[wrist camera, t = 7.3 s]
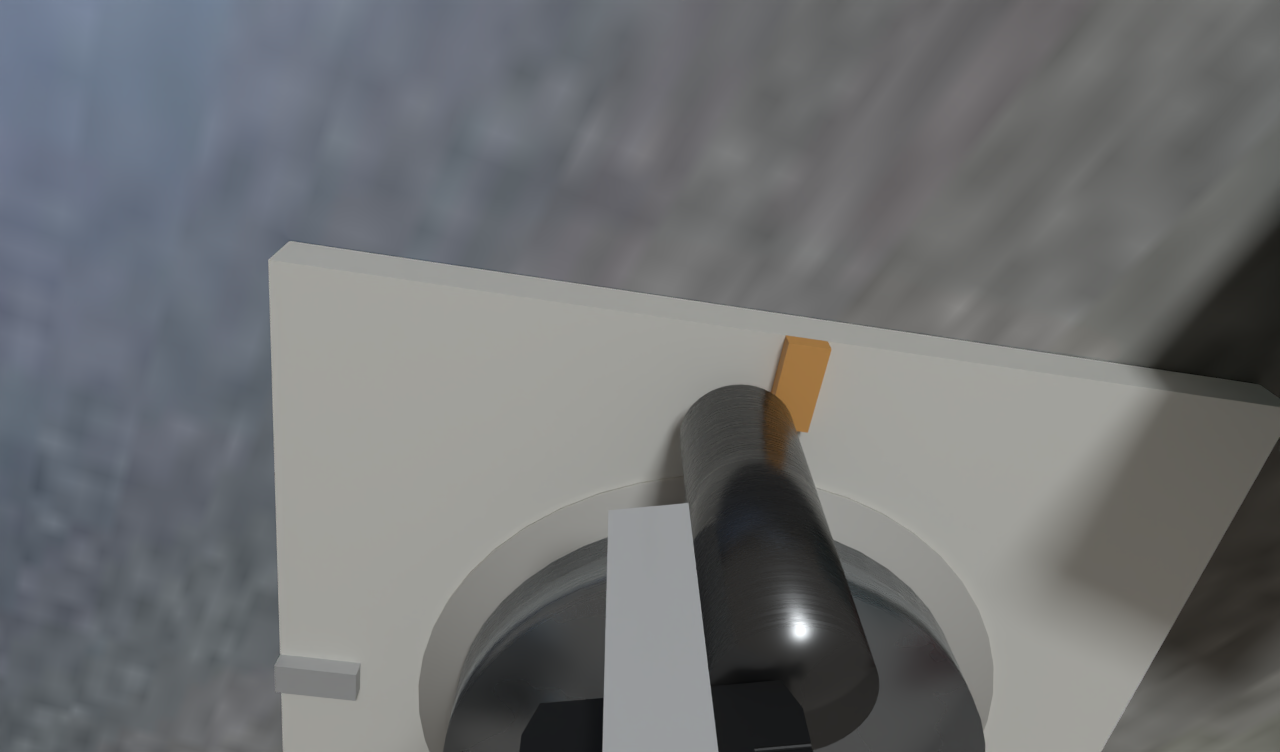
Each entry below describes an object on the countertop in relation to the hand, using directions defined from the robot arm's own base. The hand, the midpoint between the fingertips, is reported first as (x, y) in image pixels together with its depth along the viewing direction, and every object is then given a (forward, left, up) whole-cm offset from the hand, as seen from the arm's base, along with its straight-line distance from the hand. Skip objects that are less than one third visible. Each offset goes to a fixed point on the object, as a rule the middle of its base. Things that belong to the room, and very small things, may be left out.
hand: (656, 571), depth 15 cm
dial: (+3, -6, -4) cm, 8 cm away
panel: (+3, -8, -6) cm, 10 cm away
